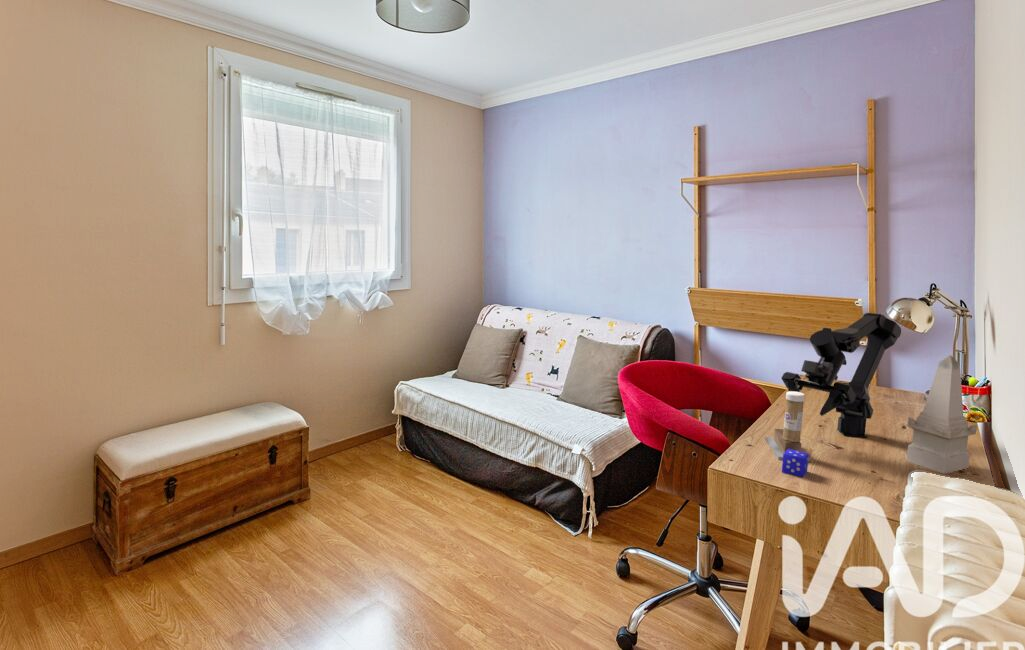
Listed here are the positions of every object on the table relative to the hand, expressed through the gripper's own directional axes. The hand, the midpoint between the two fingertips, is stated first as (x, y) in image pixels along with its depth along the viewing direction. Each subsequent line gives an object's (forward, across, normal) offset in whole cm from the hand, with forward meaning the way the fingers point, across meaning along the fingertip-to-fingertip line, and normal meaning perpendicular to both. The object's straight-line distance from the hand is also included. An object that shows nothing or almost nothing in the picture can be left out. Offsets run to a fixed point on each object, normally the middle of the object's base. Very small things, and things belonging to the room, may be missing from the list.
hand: (804, 410), depth 154 cm
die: (+20, +7, -3) cm, 21 cm away
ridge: (+11, -2, +6) cm, 12 cm away
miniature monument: (-6, +25, +24) cm, 35 cm away
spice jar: (+9, 0, +2) cm, 9 cm away
